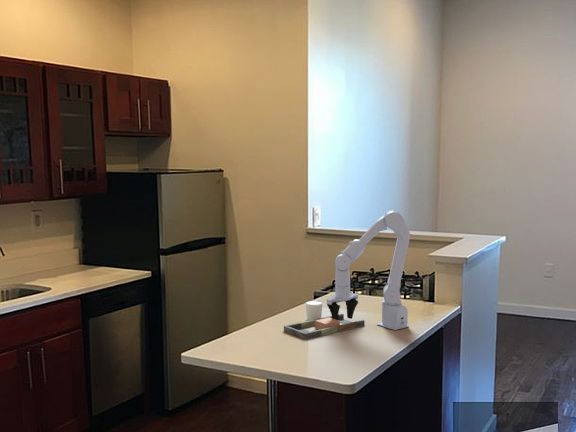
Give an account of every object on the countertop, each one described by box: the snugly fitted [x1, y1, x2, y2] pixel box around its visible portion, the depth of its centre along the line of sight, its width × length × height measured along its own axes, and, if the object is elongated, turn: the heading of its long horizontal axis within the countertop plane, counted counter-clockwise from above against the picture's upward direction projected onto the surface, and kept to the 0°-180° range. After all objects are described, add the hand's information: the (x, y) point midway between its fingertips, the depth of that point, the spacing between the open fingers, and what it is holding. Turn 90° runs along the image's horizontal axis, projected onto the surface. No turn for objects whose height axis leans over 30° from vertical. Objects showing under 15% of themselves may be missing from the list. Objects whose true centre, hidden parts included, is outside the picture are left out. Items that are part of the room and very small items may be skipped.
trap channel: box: [283, 313, 366, 340], centre depth 230 cm, size 13×29×2 cm, turn 127°
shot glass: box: [305, 300, 323, 321], centre depth 242 cm, size 7×7×7 cm
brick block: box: [314, 318, 341, 330], centre depth 231 cm, size 6×7×3 cm
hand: (342, 319), depth 236 cm, fingers open, 7 cm apart
